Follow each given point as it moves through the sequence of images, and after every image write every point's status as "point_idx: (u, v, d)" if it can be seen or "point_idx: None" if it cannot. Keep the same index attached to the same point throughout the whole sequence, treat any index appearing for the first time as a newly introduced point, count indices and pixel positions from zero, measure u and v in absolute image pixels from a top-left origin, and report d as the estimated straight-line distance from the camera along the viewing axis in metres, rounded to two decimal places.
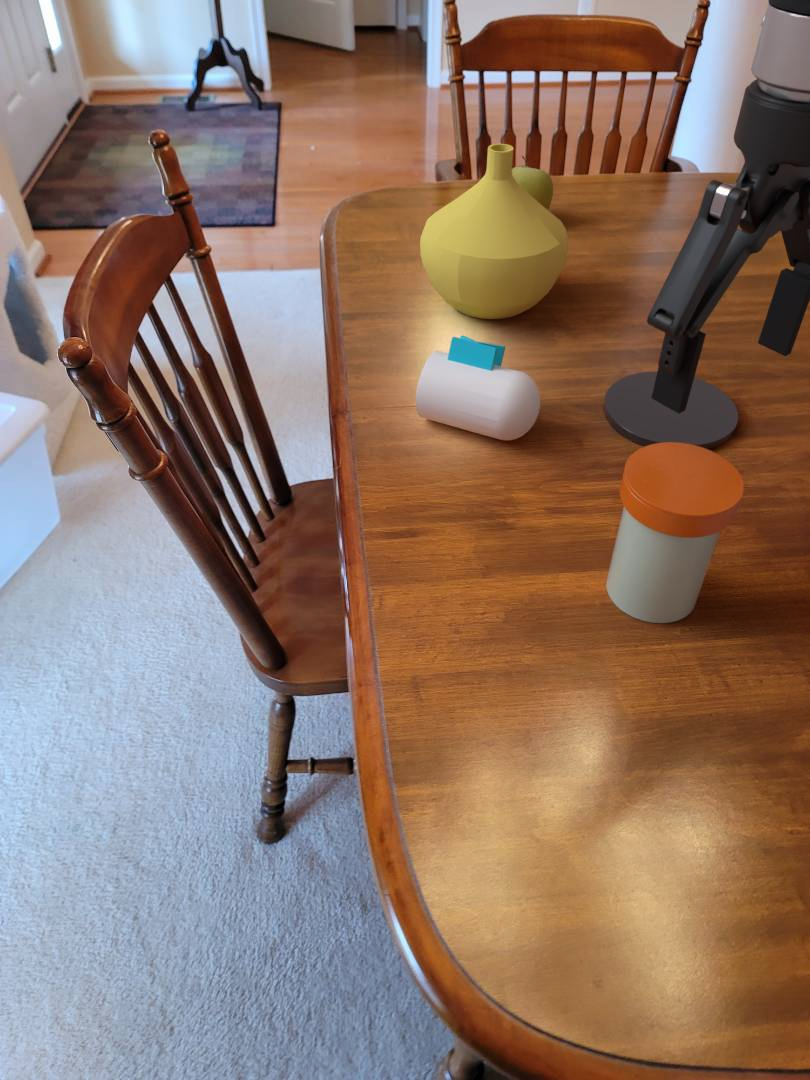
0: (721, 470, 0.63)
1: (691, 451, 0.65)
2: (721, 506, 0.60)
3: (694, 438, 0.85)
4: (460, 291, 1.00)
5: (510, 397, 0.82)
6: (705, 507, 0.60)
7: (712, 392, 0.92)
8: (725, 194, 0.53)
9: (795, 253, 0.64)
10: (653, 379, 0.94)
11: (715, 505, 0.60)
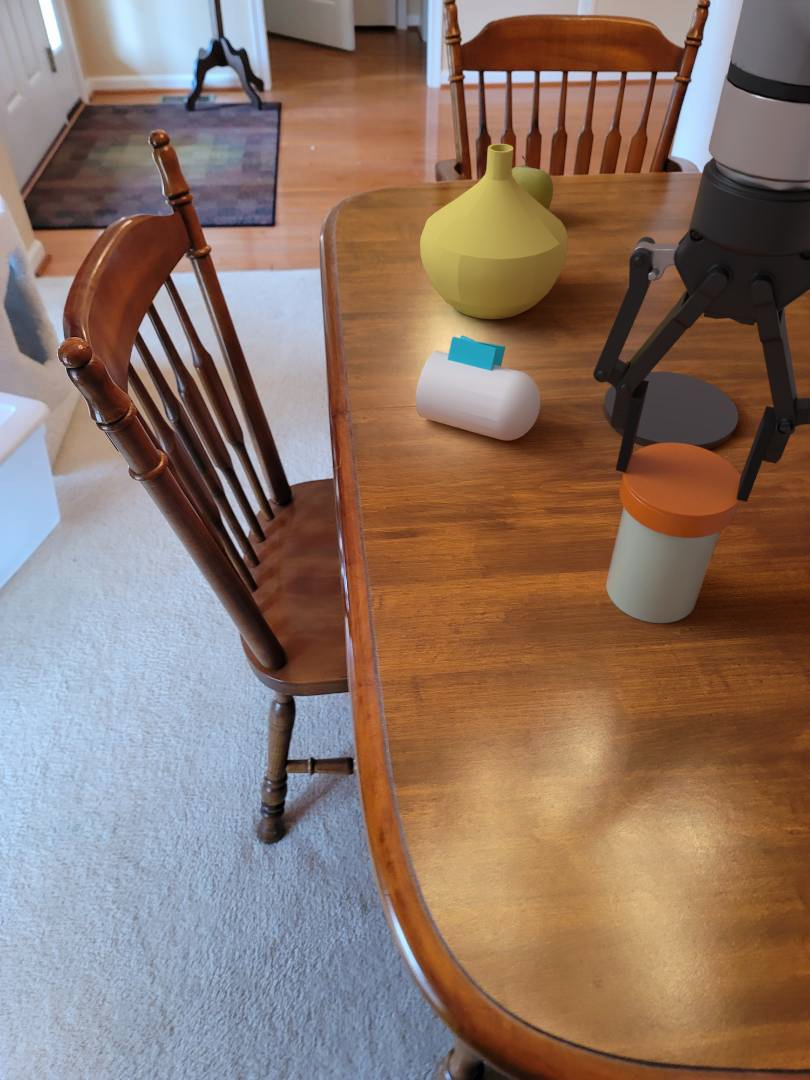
0: (721, 470, 0.63)
1: (690, 452, 0.65)
2: (721, 506, 0.60)
3: (694, 438, 0.85)
4: (460, 291, 1.00)
5: (510, 397, 0.82)
6: (705, 507, 0.60)
7: (712, 392, 0.92)
8: None
9: None
10: (653, 379, 0.94)
11: (715, 505, 0.61)
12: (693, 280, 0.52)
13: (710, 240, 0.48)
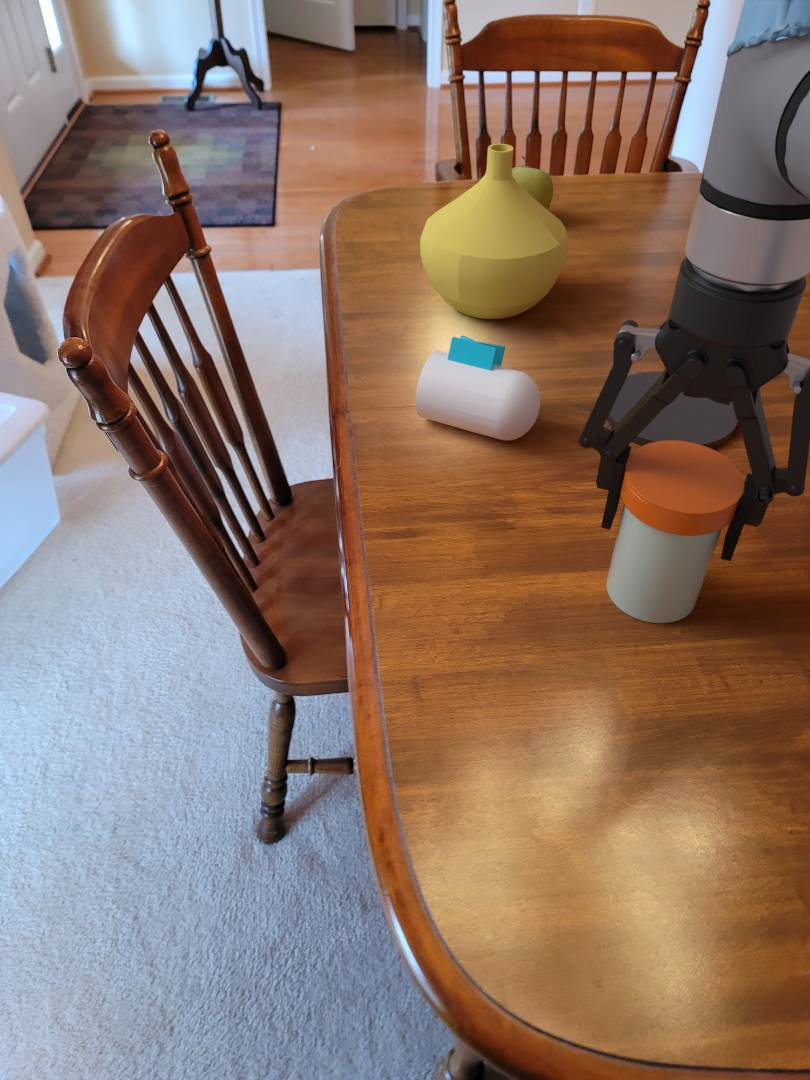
0: (644, 461, 0.64)
1: (645, 484, 0.62)
2: (686, 444, 0.65)
3: (694, 438, 0.85)
4: (460, 291, 1.00)
5: (510, 397, 0.82)
6: (700, 450, 0.65)
7: None
8: (618, 335, 0.57)
9: None
10: (653, 379, 0.94)
11: (690, 447, 0.65)
12: (673, 363, 0.56)
13: (686, 331, 0.53)
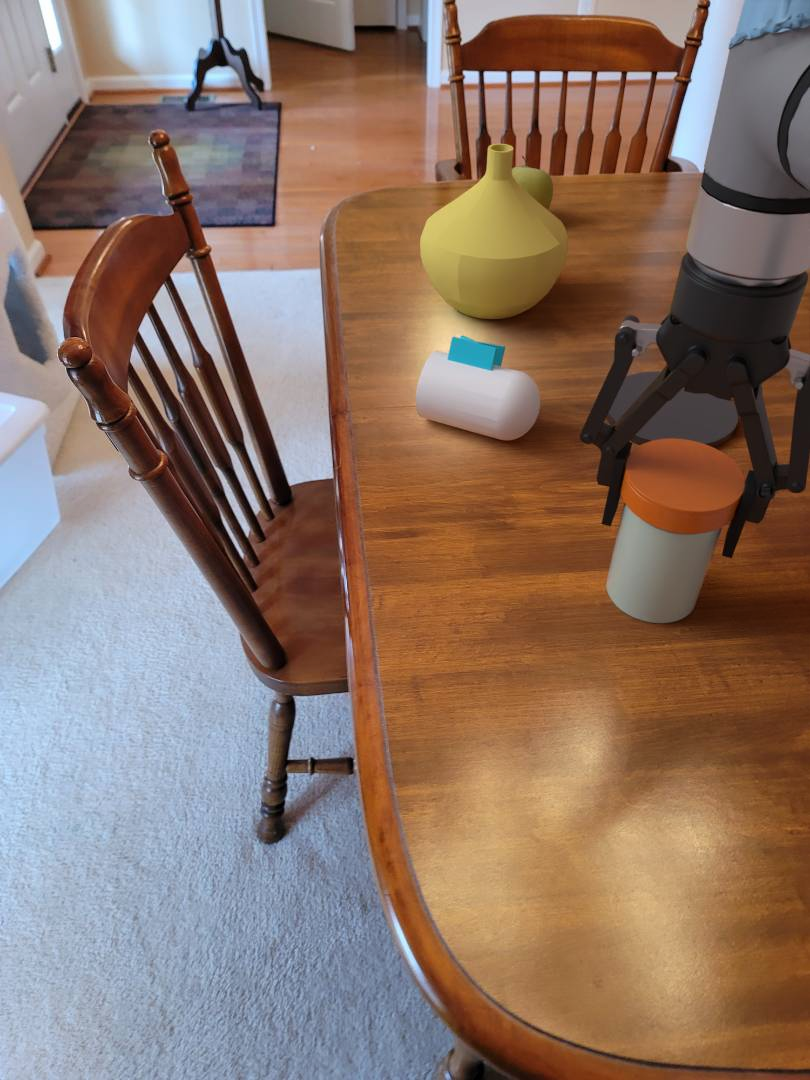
0: (702, 500, 0.60)
1: (730, 486, 0.61)
2: (642, 487, 0.61)
3: (694, 438, 0.85)
4: (460, 291, 1.00)
5: (510, 397, 0.82)
6: (638, 477, 0.62)
7: None
8: (619, 330, 0.57)
9: None
10: (653, 379, 0.94)
11: (642, 484, 0.62)
12: (674, 359, 0.56)
13: (688, 326, 0.52)
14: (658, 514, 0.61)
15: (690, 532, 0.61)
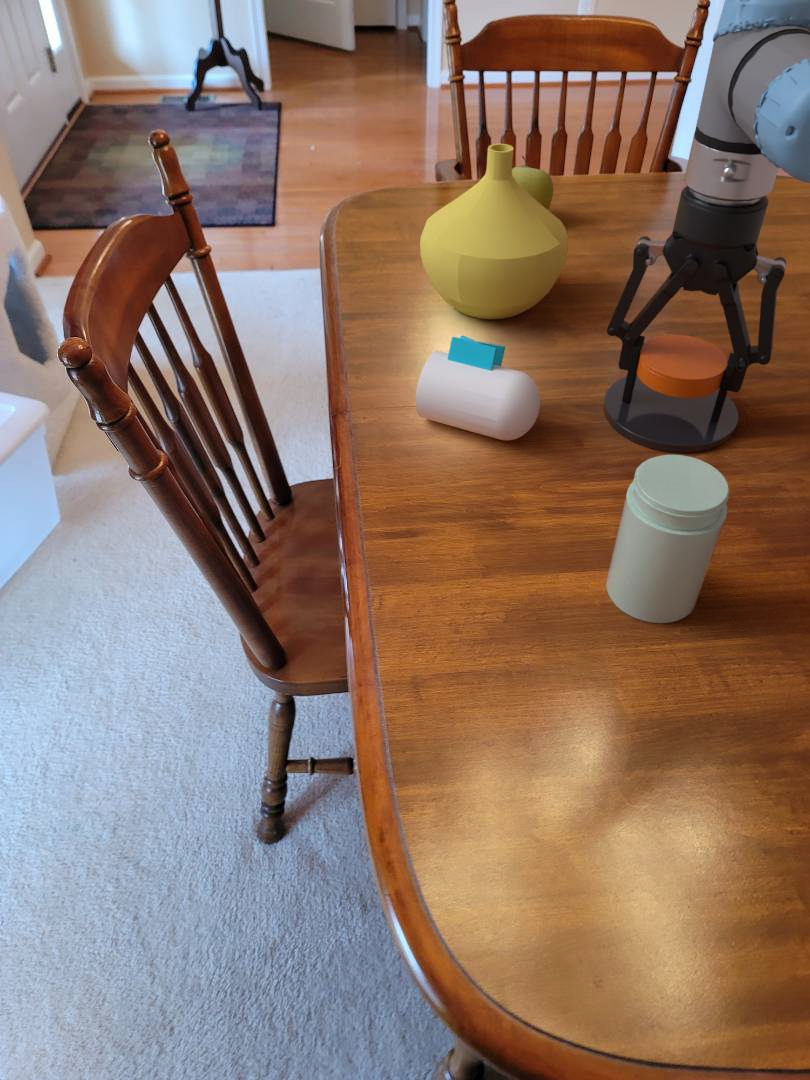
0: (671, 340, 0.88)
1: (651, 348, 0.87)
2: (713, 347, 0.87)
3: (694, 438, 0.85)
4: (460, 291, 1.00)
5: (510, 397, 0.82)
6: (716, 353, 0.86)
7: None
8: (784, 267, 0.76)
9: None
10: None
11: (713, 349, 0.86)
12: None
13: None
14: None
15: None
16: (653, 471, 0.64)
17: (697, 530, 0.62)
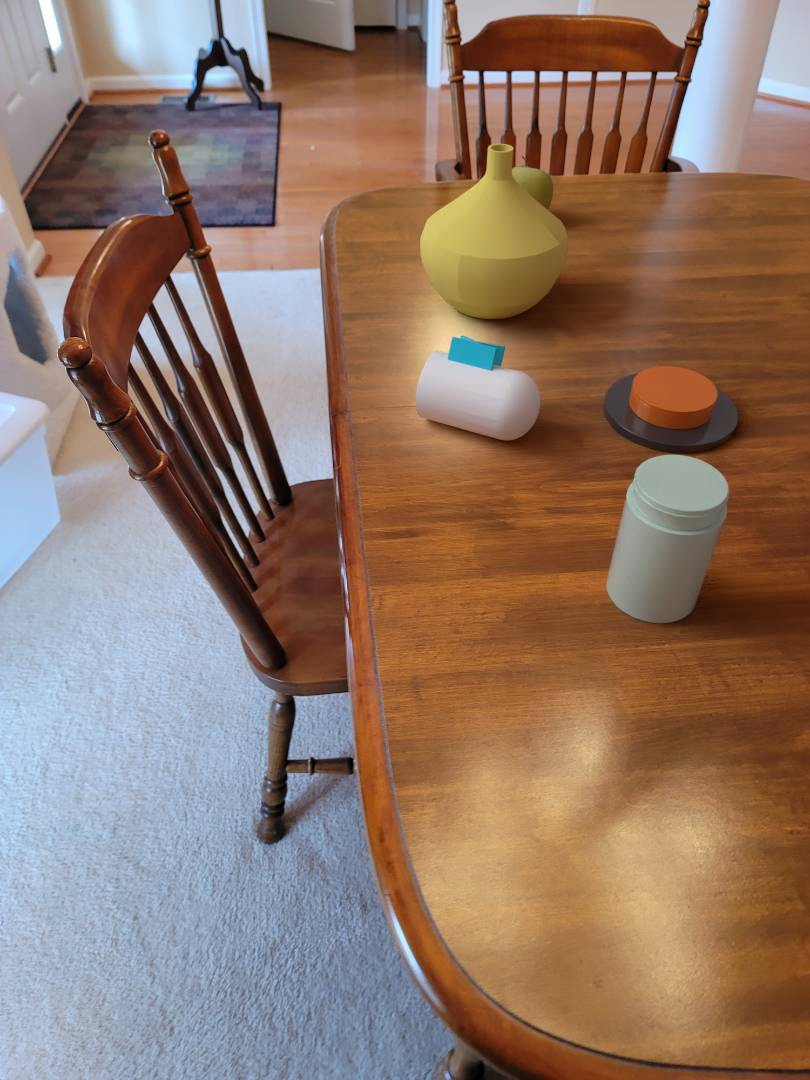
0: (662, 372, 0.90)
1: (643, 380, 0.89)
2: (703, 379, 0.89)
3: (694, 438, 0.85)
4: (460, 291, 1.00)
5: (510, 397, 0.82)
6: (707, 385, 0.89)
7: None
8: None
9: None
10: None
11: (703, 381, 0.89)
12: None
13: None
14: None
15: None
16: (653, 471, 0.64)
17: (697, 530, 0.62)
